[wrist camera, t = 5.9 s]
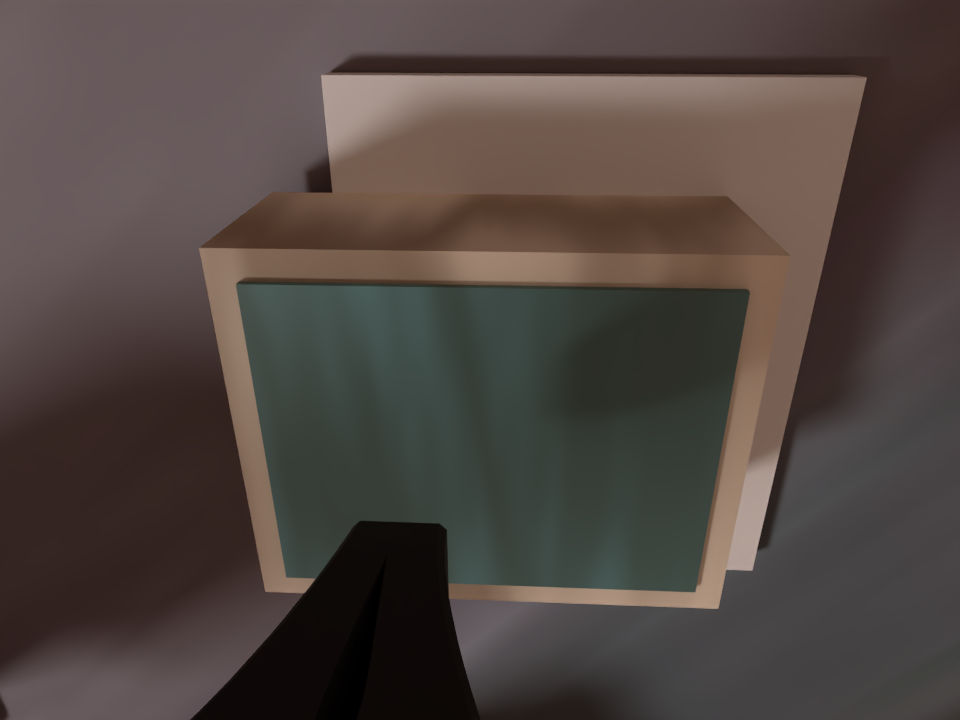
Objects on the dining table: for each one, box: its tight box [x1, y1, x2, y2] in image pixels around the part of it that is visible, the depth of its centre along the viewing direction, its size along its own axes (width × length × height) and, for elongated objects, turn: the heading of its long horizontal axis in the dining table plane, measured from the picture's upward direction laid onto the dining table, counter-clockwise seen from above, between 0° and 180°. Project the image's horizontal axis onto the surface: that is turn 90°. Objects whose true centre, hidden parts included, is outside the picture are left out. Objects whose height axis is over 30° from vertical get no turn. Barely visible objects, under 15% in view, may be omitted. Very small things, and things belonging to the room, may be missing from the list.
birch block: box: [199, 192, 790, 609], centre depth 15 cm, size 4×8×10 cm
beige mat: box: [321, 73, 867, 571], centre depth 17 cm, size 11×13×1 cm
